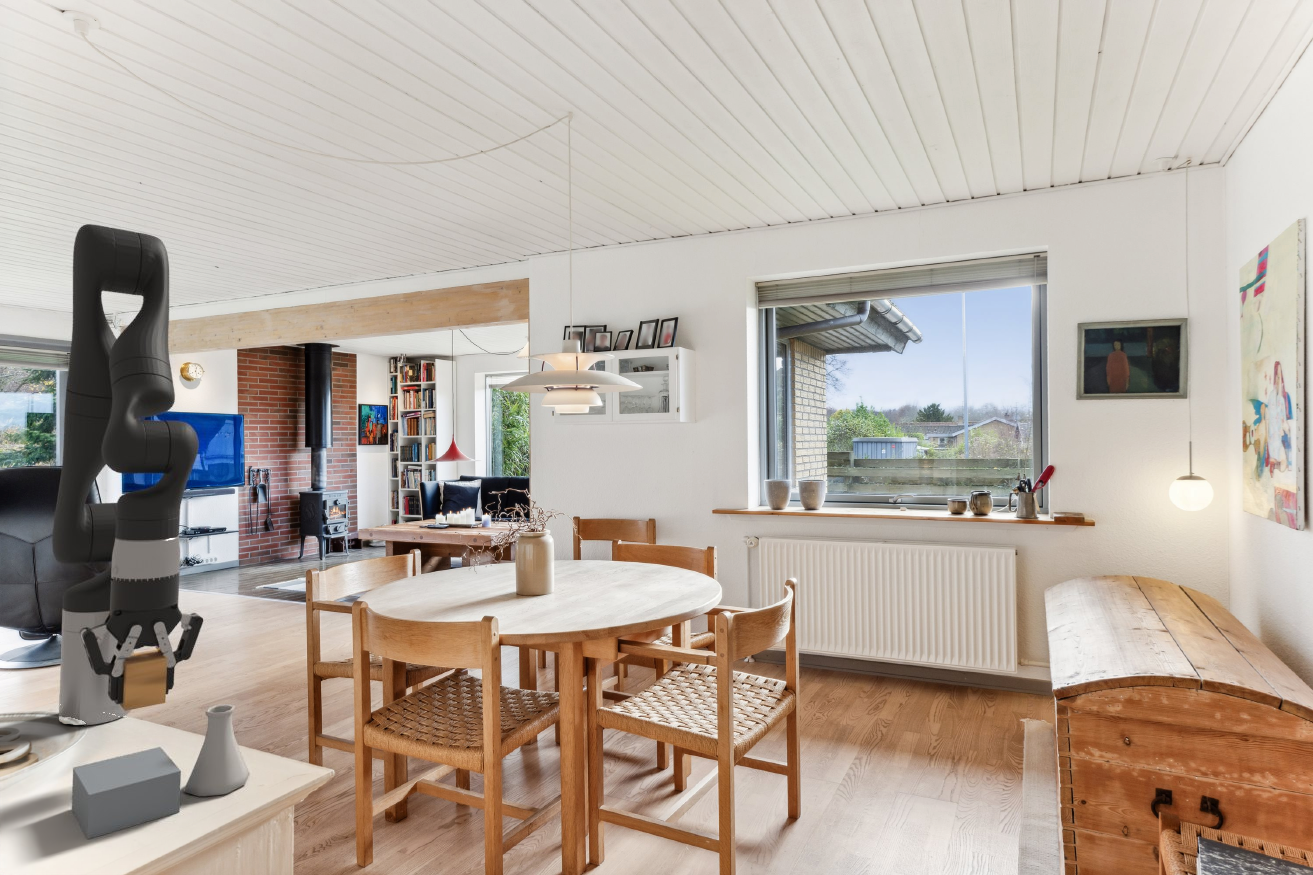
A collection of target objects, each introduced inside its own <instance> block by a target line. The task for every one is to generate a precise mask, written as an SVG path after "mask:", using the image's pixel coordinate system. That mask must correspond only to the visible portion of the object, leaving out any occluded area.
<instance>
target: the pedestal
mask: <svg viewBox="0 0 1313 875" xmlns="http://www.w3.org/2000/svg"><path fill="white" fill-rule="evenodd" d="M181 776H182V770H181V769H180V768H179V767H178V766H177V764H176V763H175V762H174V761H173V759H172V758H170V756H169V755H168V754H167V753H166V752H165V751H164V749H163V748H162V747H161V746H158V747H154V748H150V749H145V750H141V751H136V752H133V753H129V754H124V755H120V756H116V757H112V758H107V759H104V760H103V759H102V760H99V761H95V762H91V763H87V764H83V765H78V766H75V767H72V787H71V788H72V793H71V795H72V796H71V810H72V812H73V814H74V816H75V818H76V820H77V821H78V823H79V826H80V828H81V829H82V831H83V834H84V835H85V838H86V840H90V839H94V838H96V837H97V838H98V837H99V836H103V835H107V834H110V833H114V832H117V831H119V830H122V829H126V828H130V827H133V826H137V825H140V824H141V825H142V824H143V823H147V822H150V821H154V820H157V819H160V818H164V817H167V816H171V815H174V814H177V813H180V808H181V807H180V805H181V804H180V802H181V783H182V782H181Z"/></svg>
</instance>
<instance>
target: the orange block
mask: <svg viewBox="0 0 1313 875" xmlns="http://www.w3.org/2000/svg"><path fill="white" fill-rule="evenodd" d="M122 674H123V676H124V690H123V703H122V704H120V705H121V707H122V708H123V709H124V711H128V710H131V711H132V710H137V709H142V708H147V707H152V706H156V705H161V704H166V676H167V658H166V657H165V656H164V657H163V656H162V655H161V653H158V651H157V649H154V650H148V651H140V652H134V654H131V656H130V658H129V659H128V661H127V663H125V668H124V670H123V673H122Z"/></svg>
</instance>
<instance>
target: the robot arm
mask: <svg viewBox="0 0 1313 875" xmlns="http://www.w3.org/2000/svg"><path fill="white" fill-rule="evenodd" d="M72 255H73V256H72V329H71V330H72V331H71V333H72V334H71V344H70V353H69V360H68V361H69V363H68V371H67V378H66V379H67V380H66V385H65V386H66V389H65V400H64V419H63V422H64V424H63V452H62V453H63V454H62V464H61V473H60V480H59V486H58V492H57V501H56V507H55V511H54V518H53V519H54V520H53V526H52V527H53V528H52V538H51V539H52V540H51V542H52V543H51V546H52V552H53V556H54V558H55V560H56V561H57V562H58V563H59V564H61V565H69V566H70V565H71V566H72V565H86V564H99V563H100V564H101V563H110V565H109V566H108V567H107V568H106V569H105V570H104V571H102V572H101V573H99V574H98V575H96V576H94V577H92V578H90V579H87V580H85V581H82V582H79V583H78V584H75V585H73V586H72V585H71V587H68V588H67V589H66V590H65V591H64V593H63V596H62V609H61V610H62V612H61V613H62V614H61V615H62V618H61V641H60V642H61V644H60V645H61V647H60V648H61V650H60V674H59V677H60V678H59V699H58V717H59V716H62V717H71V718H75V719H78V720H82V721H84V722H85V723H86V724H87V725H86V726H90V725H98V724H103V723H106V722H112V721H115V720H118V719H120V718H123V717H125V716H127V715H128V714H129V713H131V711H132V710H128V711H124V709H123V708H122V707H121V705H120V704H122V703H123V690H124V676H123V674H122V673H123V670H124V668H125V663H127V661H128V659H129V658H130V656H131V654H134V653H135V650H138V649H141V648H144V647H149V648H150V647H155V650H157V651H158V653H161V655H162V656H163V657H164V656H165V657H166V658H167V676H166V695H168V694H169V691H170V690H173V688H174V686H175V670H176V669H175V668H176V666H177V665H178V663H180V662H183V661H189V659H190V658H191V657H192V654H193V651H194V648H195V646H196V642H197V640H198V638H199V634H200V632H201V629H202V626H203V623H204V618H203V617H202V616H200V615H199V614H198V613H196V612H191V613H182V611H181V610H180V608H179V594H180V593H179V592H180V591H179V590H180V570H181V566H182V561H181V547H180V546H181V545H180V519H181V517H180V515H181V506H182V501H183V497H184V494H185V490H186V486H187V484H188V480H189V477H190V475H191V472H192V470H193V468H194V465H195V462H196V460H197V456H198V452H199V444H200V443H199V437H198V434H197V432H196V431H195V429H194V428H193V427H192V425H190V424H189V423H188V422H185V421H180V420H157V419H156V420H154V419H144V418H150V417H155V416H158V415H161V414H164V413H166V412H168V411H169V410H171V408H173V406H174V405H175V402H176V400H175V399H176V394H175V387H174V380H173V375H172V367H171V363H170V353H169V352H170V350H169V326H170V324H169V323H170V261H169V256H168V251H167V248H166V246H165V243H164V242H163V241H162V239H160V237H157V236H154V235H152V234H148V233H142V232H136V231H131V230H127V229H121V228H115V227H110V226H105V225H99V224H92V223H89V224H88V223H87V224H83V225H81V226H80V227H79V229H78V230H77V232H76V236H75V239H74V244H73V254H72ZM102 292H108V293H117V294H125V295H132V296H139V297H140V296H142V305H141V308H140V310H139V311H138V313H137V314H136V316H135V317H134V318H133V319H132V320H131V322H130V323H129V324H128V325H127V326H126V327H125V329H124V330H123V331H121V333H120V334H119V336H118V337H116V336H115V334H114V332H113V330H112V327H111V326H110V324H109V322H108V320H107V317H106V315H105V311H104V306H103V301H102V300H103V299H102V294H103V293H102ZM142 418H143V419H142ZM106 465H107V467H108V468H109V469H111V471H113V472H115V473H118V474H130V475H131V474H162V475H161V478H160V479H159V480H158V481H157V483H156V484H154V485H153V486H151V487H147V488H144V489H139V490H135V491H131V492H130V491H129V492H127V493H123V494H122V495H120V496H119V497H118V499H117V502H104V503H103V502H101V503H99V502H98V503H86V501H87V497H88V496H89V493H90V490H91V488H92V486H93V484H94V482H95V481H96V479H97V478H98V476H99V474H100V473H101V471H102V470H103V469H104V468H105V467H106ZM179 623H181V625H180V627H181V629H183V631H182V634H181V637H180V640H179V642H178V645H177V647H176V650H174V651H173V647H172V644H171V641H170V639H169V636H170V634H171V633H172V632H173V631H174V629H175V628H176V627H177V626H178V624H179ZM60 704H61V705H60ZM103 712H105V713H103ZM109 713H110V714H109ZM112 714H115V715H116V716H115V715H112ZM118 716H120V717H118Z"/></svg>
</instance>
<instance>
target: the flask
mask: <svg viewBox="0 0 1313 875" xmlns="http://www.w3.org/2000/svg"><path fill="white" fill-rule="evenodd" d="M235 708H236V705H232V704H227V703H226V704H216V705H213V706H211V707H208V708H207V709H206V711H205V716H206V717H207V729H206V733H205V737H204V741H203V743H202V746H201V749H200V751H199V753H198V755H197V756H198V757H197V759H196V762H195V763H194V766H193V769H192V771H191V773H190V775H189V778H188V780H187V782H186V785H185V787H184V790H183V792H184V793H187V794H191V795H194V796H197V797H207V796H209V797H210V796H218V795H220V796H221V795H226V794H229V793H230V792H233V791H235V790H236V789H239V788H240V787H242V786H244V785H246V784H247V781H248V780H249V777H250V771H249V768H248V766H247V764H246V762H245V759H244V756H243V754H242V751H241V750H240V747H239V744H238V741H237V738H236V736H235V733H234V727H233V712H234V711H235Z"/></svg>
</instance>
